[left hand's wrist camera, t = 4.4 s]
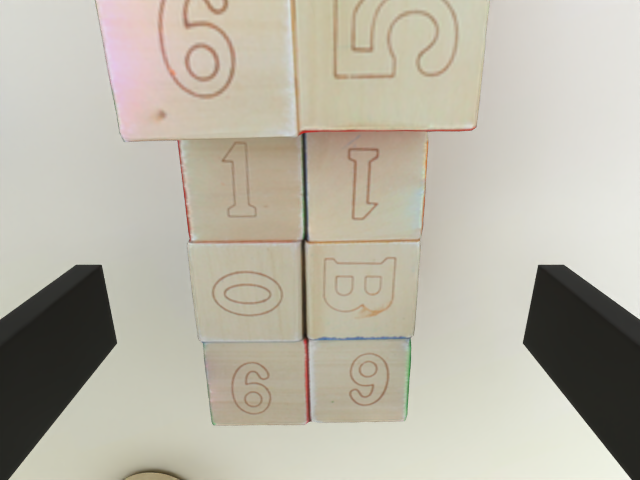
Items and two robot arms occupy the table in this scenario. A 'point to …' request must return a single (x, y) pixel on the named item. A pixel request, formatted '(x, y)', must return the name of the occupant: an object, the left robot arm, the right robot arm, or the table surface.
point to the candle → (151, 477)
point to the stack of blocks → (300, 182)
